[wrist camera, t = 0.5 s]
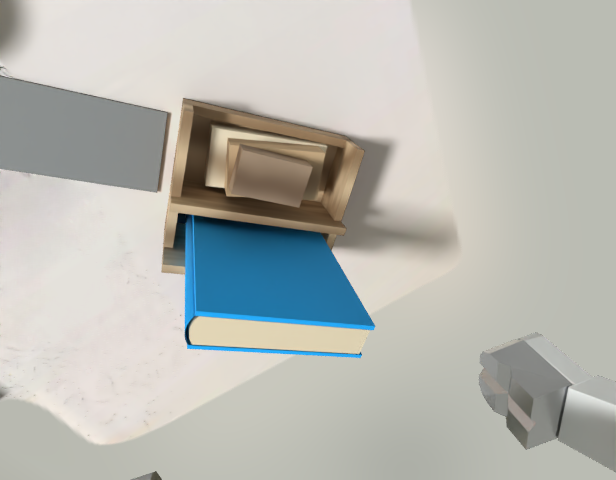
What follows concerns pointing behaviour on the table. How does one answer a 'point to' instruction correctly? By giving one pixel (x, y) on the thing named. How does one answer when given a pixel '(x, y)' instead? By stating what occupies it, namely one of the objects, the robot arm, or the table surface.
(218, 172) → the offcut large
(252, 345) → the book
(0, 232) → the table surface
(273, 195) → the offcut small
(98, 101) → the mat
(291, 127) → the rack
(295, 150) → the offcut medium
